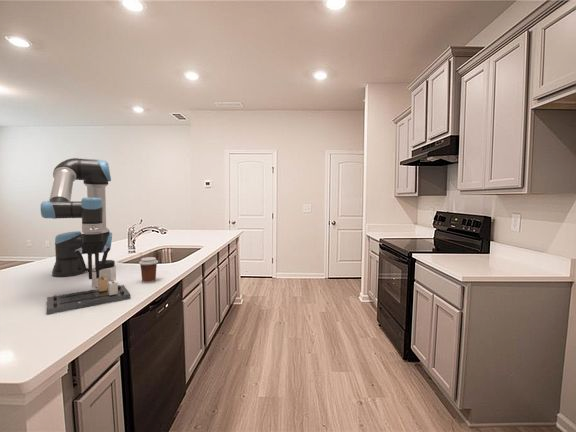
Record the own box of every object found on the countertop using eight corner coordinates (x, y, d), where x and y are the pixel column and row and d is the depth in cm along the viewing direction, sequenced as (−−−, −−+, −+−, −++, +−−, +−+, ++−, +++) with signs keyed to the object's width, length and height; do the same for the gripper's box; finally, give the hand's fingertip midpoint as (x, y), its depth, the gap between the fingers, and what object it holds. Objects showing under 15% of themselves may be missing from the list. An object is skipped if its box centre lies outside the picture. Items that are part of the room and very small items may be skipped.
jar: (94, 289, 136) (93, 264, 135) (94, 284, 143) (94, 261, 142) (116, 286, 141) (116, 262, 140) (115, 282, 147) (115, 259, 147)
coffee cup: (145, 284, 144) (145, 261, 144) (135, 281, 149) (135, 258, 148) (162, 280, 152) (161, 258, 151) (151, 277, 157) (151, 255, 156)
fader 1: (98, 289, 129) (98, 277, 128) (106, 287, 131) (105, 276, 130) (99, 291, 126) (99, 279, 125) (107, 290, 128) (107, 278, 127)
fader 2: (108, 292, 124) (107, 280, 124) (116, 291, 126) (115, 279, 126) (109, 295, 121) (109, 282, 121) (117, 293, 123) (117, 281, 123)
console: (47, 301, 119) (47, 294, 119) (123, 289, 137) (123, 282, 137) (46, 314, 107) (46, 306, 107) (130, 298, 125) (130, 292, 124)
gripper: (74, 235, 117) (76, 291, 119) (111, 232, 126) (112, 285, 127) (73, 233, 123) (75, 286, 125) (108, 231, 131) (109, 281, 133)
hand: (94, 285), depth 126 cm, fingers closed
